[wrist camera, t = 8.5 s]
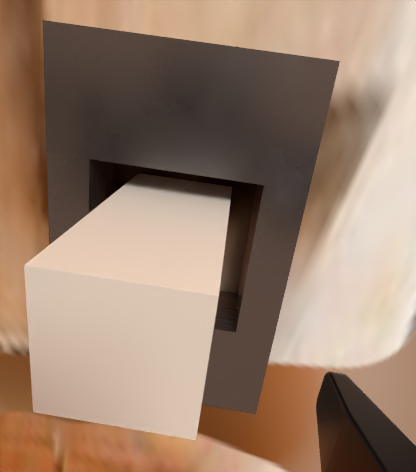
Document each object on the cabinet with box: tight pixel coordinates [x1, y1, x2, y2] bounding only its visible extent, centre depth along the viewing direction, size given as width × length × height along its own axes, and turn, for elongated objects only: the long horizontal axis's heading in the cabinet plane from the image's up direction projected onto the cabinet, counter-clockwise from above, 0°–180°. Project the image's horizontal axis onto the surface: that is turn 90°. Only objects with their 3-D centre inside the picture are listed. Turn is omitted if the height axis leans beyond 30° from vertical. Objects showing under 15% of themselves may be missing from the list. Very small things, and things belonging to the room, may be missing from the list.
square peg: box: [24, 173, 232, 440], centre depth 12 cm, size 4×4×9 cm
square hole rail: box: [43, 20, 340, 414], centre depth 15 cm, size 14×9×3 cm, turn 172°
